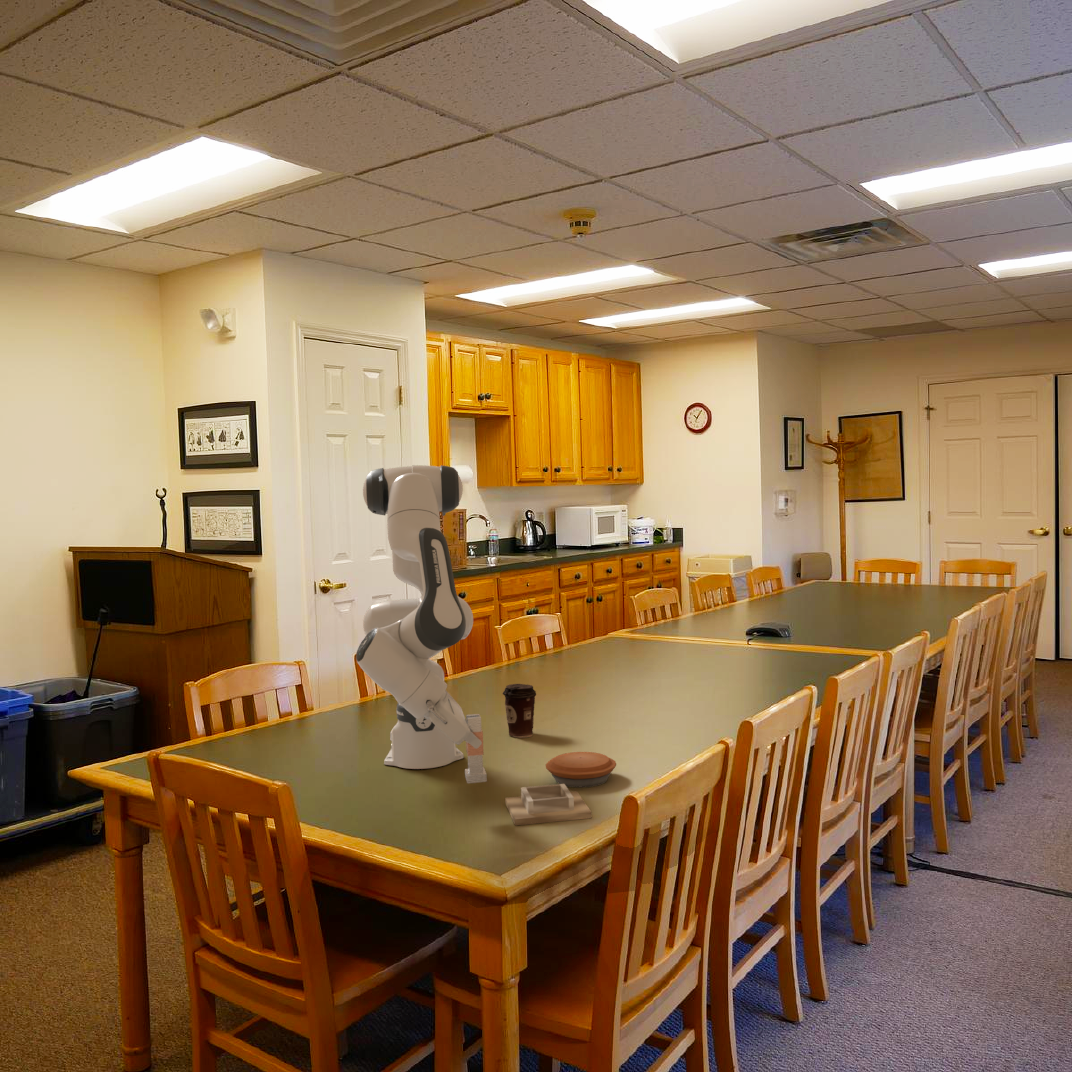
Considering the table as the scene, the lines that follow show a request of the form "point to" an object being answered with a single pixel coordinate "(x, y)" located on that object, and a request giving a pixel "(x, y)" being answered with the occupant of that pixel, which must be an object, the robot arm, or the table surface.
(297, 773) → the table surface
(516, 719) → the coffee cup
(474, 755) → the grey orange upright bar
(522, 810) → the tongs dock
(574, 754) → the pie
